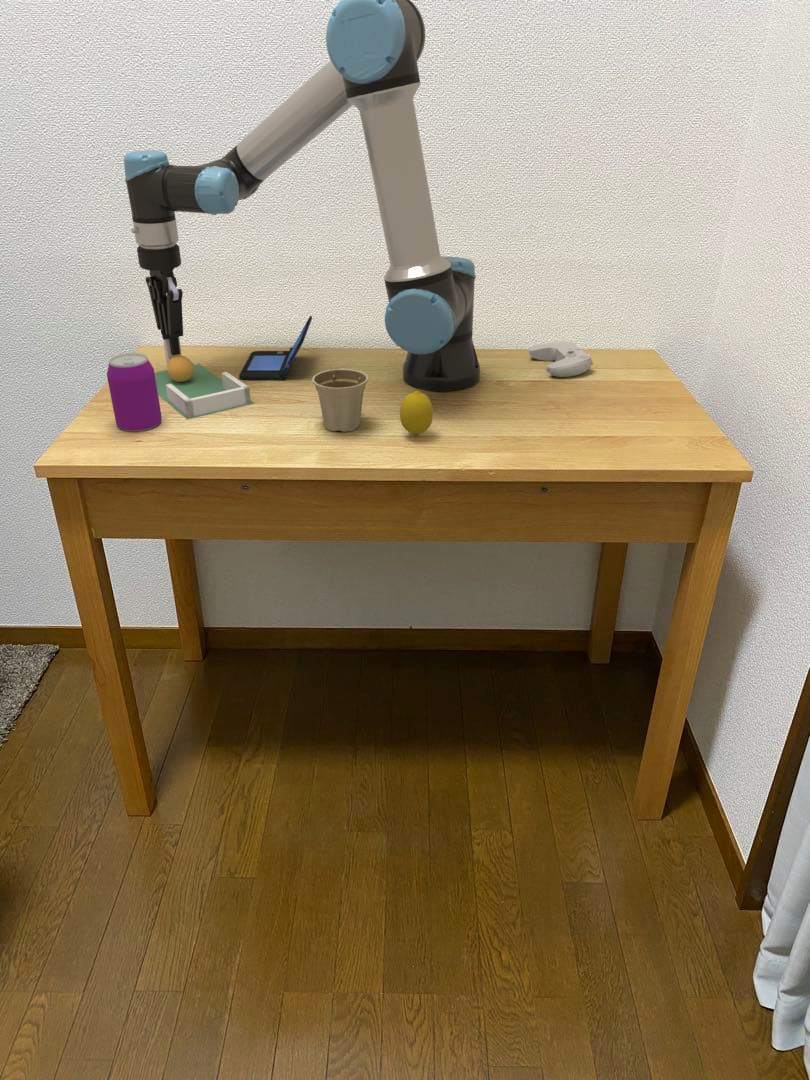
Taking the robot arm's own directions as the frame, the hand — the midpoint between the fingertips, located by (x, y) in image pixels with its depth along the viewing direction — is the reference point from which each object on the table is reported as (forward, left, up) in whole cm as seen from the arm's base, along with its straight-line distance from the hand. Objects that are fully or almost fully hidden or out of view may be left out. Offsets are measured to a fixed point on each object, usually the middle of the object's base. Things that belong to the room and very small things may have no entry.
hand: (175, 368), depth 167 cm
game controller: (-38, -67, -3) cm, 77 cm away
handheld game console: (-6, -19, -3) cm, 20 cm away
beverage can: (-19, +14, -2) cm, 23 cm away
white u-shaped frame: (-16, 0, -2) cm, 16 cm away
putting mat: (-9, 0, -2) cm, 9 cm away
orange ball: (-3, 0, +1) cm, 3 cm away
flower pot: (-39, -15, -2) cm, 41 cm away
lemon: (-50, -23, -2) cm, 55 cm away
